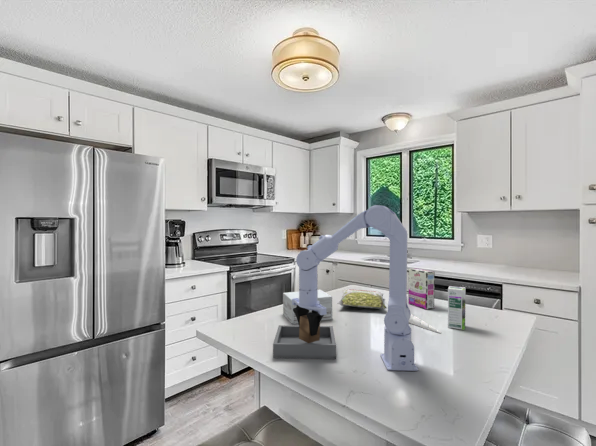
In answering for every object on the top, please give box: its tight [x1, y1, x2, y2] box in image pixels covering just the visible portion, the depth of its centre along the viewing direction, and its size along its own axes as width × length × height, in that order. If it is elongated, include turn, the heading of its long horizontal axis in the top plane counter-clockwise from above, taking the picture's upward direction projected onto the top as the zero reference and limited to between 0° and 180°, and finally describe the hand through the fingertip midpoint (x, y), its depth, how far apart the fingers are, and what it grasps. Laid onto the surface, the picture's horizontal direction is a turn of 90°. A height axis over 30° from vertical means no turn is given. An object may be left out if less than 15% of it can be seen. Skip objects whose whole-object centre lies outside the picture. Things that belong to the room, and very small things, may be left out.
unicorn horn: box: [409, 313, 442, 334], centre depth 123 cm, size 5×24×5 cm, turn 24°
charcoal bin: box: [272, 324, 337, 360], centre depth 102 cm, size 16×18×4 cm
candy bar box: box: [407, 267, 436, 310], centre depth 147 cm, size 11×5×16 cm, turn 25°
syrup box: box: [447, 285, 466, 331], centre depth 120 cm, size 6×6×14 cm
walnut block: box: [299, 315, 321, 343], centre depth 102 cm, size 4×4×7 cm
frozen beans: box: [337, 288, 388, 310], centre depth 150 cm, size 21×6×25 cm
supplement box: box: [282, 289, 333, 325], centre depth 132 cm, size 17×13×9 cm
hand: (308, 332), depth 101 cm, fingers closed on walnut block, 4 cm apart
